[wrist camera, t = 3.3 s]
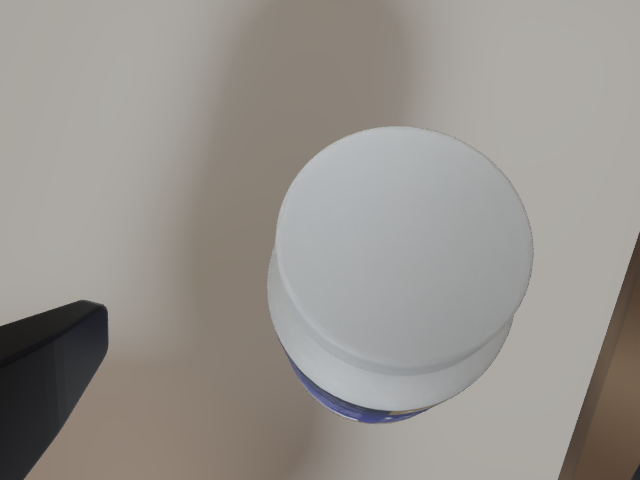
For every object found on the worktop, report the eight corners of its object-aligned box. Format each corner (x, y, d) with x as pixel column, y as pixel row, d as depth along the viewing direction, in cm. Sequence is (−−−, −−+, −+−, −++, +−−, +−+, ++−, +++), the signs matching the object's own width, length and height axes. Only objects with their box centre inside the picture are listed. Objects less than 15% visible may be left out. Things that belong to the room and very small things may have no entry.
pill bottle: (399, 462, 18) (459, 476, 9) (256, 359, 19) (176, 275, 10) (488, 316, 20) (621, 194, 10) (350, 229, 21) (357, 51, 12)
